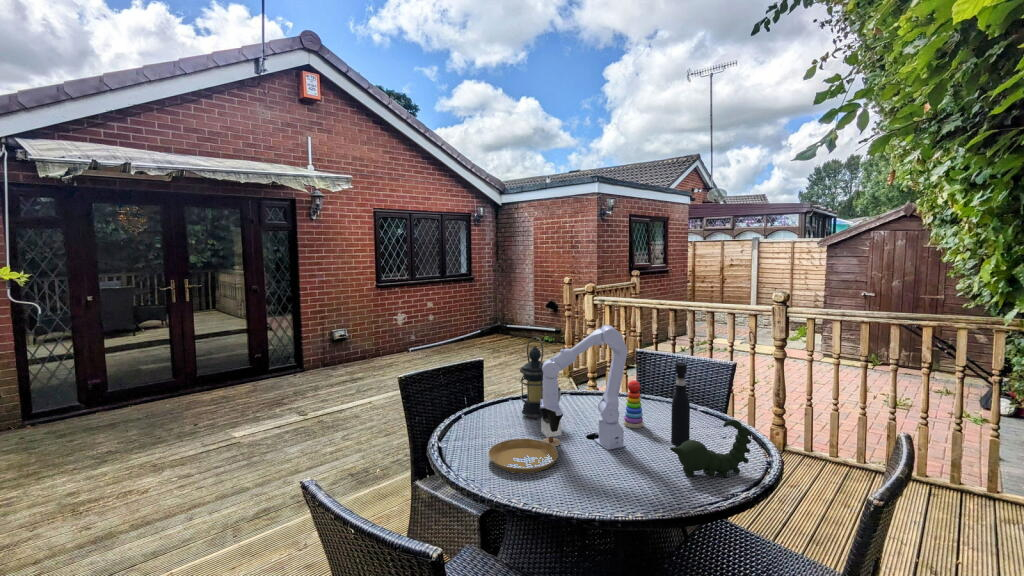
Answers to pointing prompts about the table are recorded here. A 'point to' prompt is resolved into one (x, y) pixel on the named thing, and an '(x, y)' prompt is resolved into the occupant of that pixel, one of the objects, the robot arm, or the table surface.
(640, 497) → the table surface
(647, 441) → the table surface
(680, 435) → the wine bottle
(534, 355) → the lantern
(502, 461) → the plant saucer
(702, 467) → the toy figurine
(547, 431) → the collar
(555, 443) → the post stand
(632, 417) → the stacking toy
